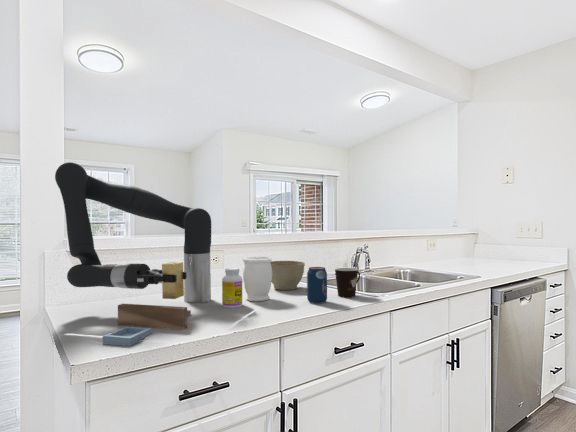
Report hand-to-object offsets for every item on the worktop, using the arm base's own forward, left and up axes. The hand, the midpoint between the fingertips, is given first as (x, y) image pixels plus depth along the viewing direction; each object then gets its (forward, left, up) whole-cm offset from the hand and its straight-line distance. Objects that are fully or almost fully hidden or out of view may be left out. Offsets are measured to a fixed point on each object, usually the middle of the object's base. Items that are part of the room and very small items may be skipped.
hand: (180, 277), depth 116 cm
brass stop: (0, -3, -6) cm, 6 cm away
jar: (-33, +12, -13) cm, 37 cm away
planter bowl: (-57, +16, -13) cm, 60 cm away
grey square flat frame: (0, -3, -12) cm, 13 cm away
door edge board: (+10, -3, -12) cm, 16 cm away
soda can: (-33, +34, -13) cm, 49 cm away
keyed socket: (+20, -3, -12) cm, 24 cm away
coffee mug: (-47, +44, -13) cm, 66 cm away
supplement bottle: (-19, +8, -13) cm, 24 cm away
